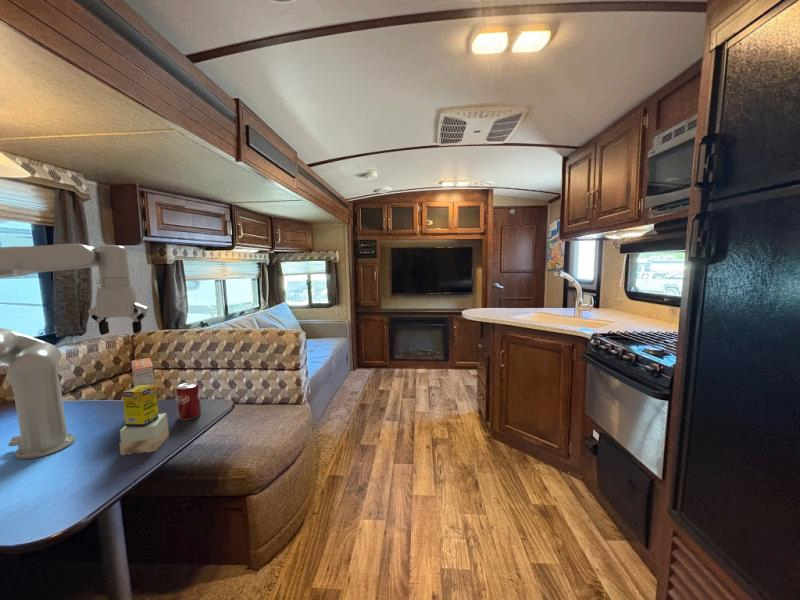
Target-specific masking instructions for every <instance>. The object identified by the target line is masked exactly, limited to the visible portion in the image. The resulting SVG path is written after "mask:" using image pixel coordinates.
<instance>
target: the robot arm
mask: <svg viewBox="0 0 800 600" xmlns="http://www.w3.org/2000/svg"><path fill="white" fill-rule="evenodd" d="M128 260H129V259H128V252H127V249H126V247H125V246H122V245H112V244H109V245H104V244H102V245H99V246H95V245H86V244H83V243H61V244H60V243H59V244H48V245H47V244H46V245H45V244H44V245H43V244H42V245H32V246H31V245H30V246H4V247H2V246H1V247H0V279H5V278H6V279H7V278H14V277H15V278H17V277H24V276H28V275H32V274H37V273H48V272H55V271H56V272H57V271H67V270H79V269H87V268H96V267H97V268H98V276H99V277H98V278H99V279H96V281H95V283H96V284H98V285H99V287H97V291H96V296H95V297H96V298H95V306H93V307H92V308H90V309H87V313H88V314H89V316H91V319H92V320H94V321H95V323H96V324H98V330H99V331H98V332H99V333H100V335H101V336H104V335H106V334H109V333H110V328H109V322H108V318H127V317H129V318H130V319H131V320H132V322H131V324H132V332H133V334H138V333H141V332H142V321H143V319H144V318H145V317H146V315H147V314H148V311H149V307H147V306H145V305H142V304H140V303H138V299H137V296H136V292H135V290H134V287H133V286H131V280H130V270H129V261H128ZM139 310H140V313H139ZM61 360H62V353H61V351H60V349H59V348H58V347H57V346H55V345H54V344H52V343H49V342H47V341H45V340H41V339H38V338H35V337H32V336H30V335H27V334H23V333H20V332H17V331H14V330H12V329H8V328H7V329H6V328H1V327H0V363H3V364H5V365H6V364H7V365H8V367H7V374H8V379H9V381H10V384H11V387H12V392H13V396H14V402H15V403H14V404H15V409H16V415H17V419H18V420H17V421H18V427H19V434H20V435H16V436H15V435H14V436H12V438H11V439H10V442H9V443H8V444H7V445H8V447H16V446H17V450H15V452H14V453H15V457H16V458H17V459H18V460H19V459H20V460H29V459H35V458H40V457H44V456H47V455H50V454H54V453H56V452H59V451H61V450H64V449H65V448H68V446H70V445H72V444H73V443H74V442H75V440H76V435H74V434H73V433H69V432H68V430H67V428H68V427H67V423H66V414H65V408H64V401H63V395H62V388H61V382H60V378H59V372H58V366H59V363H60V362H61Z"/></svg>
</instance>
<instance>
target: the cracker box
mask: <svg viewBox="0 0 800 600" xmlns="http://www.w3.org/2000/svg"><path fill="white" fill-rule="evenodd" d="M131 371H132V380H133V388H134V387H136V386H138V385H156V382H155V381H156V380H155V371H154V365H153V363H152V360H151V357H147V358H141V359H134V360H131ZM158 414H160V413H159V412H158Z"/></svg>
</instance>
